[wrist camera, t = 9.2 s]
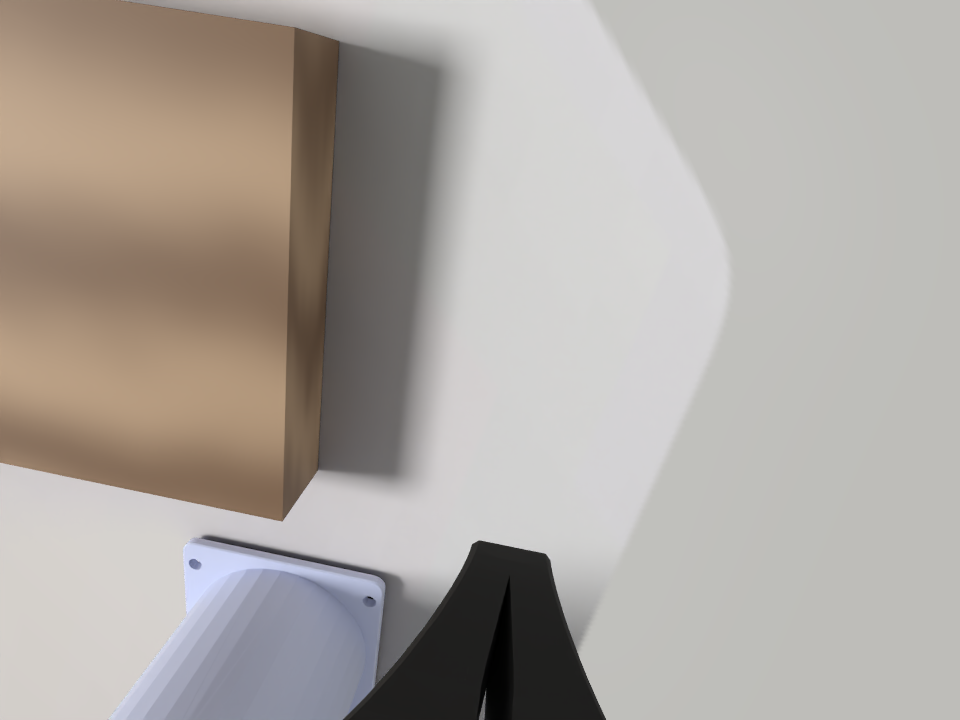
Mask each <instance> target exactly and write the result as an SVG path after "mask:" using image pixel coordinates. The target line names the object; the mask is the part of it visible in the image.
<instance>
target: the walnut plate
mask: <svg viewBox="0 0 960 720" xmlns="http://www.w3.org/2000/svg"><path fill="white" fill-rule="evenodd" d="M338 53H339V41H337V40H333V39H330V38H327V37H324V36H320V35H317V34H314V33H311V32H308V31H304V30H301V29H298V28H295V27H288V26H282V25H275V24H269V23H262V22H256V21H249V20H243V19H236V18H230V17H223V16H217V15H210V14H204V13H197V12H191V11H185V10H178V9H172V8H165V7H159V6H152V5H146V4H139V3H133V2H126V1H120V0H0V463H5V464H10V465H14V466H19V467H24V468H29V469H34V470H38V471H43V472H48V473H53V474H58V475H62V476H67V477H72V478H77V479H81V480H86V481H91V482H96V483H101V484H105V485H110V486H115V487H120V488H125V489H129V490H134V491H139V492H144V493H149V494H153V495H158V496H163V497H168V498H173V499H177V500H182V501H187V502H192V503H197V504H201V505H206V506H211V507H216V508H221V509H225V510H230V511H235V512H240V513H245V514H249V515H254V516H259V517H264V518H269V519H273V520H278V521H283V520H284V518H285V517H286V515H287V514H288V513H289V511H290V510H291V508H292V507H293V505H294V504H295V502H296V501H297V500H298V498H299V497H300V495H301V494H302V492H303V491H304V490H305V488H306V487H307V485H308V484H309V482H310V481H311V479H312V478H313V477H314V475H315V474H316V472H317V471H318V452H319V432H320V413H321V393H322V373H323V353H324V333H325V313H326V293H327V273H328V253H329V233H330V213H331V193H332V173H333V153H334V133H335V113H336V93H337V73H338Z"/></svg>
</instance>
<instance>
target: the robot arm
mask: <svg viewBox="0 0 960 720" xmlns="http://www.w3.org/2000/svg"><path fill="white" fill-rule="evenodd" d="M183 558H184V576H185V595H186V613H187V615H186V617H185V618H184V619H183V621H182V622H181V623H180V625H179V626H178V627H177V629H176V630H175V631H174V633H173V634H172V635H171V637H170V638H169V639H168V641H167V642H166V643H165V645H164V646H163V647H162V649H161V650H160V651H159V653H158V654H157V655H156V656H155V658H154V659H153V660H152V662H151V663H150V664H149V666H148V667H147V668H146V670H145V671H144V672H143V674H142V675H141V676H140V678H139V679H138V680H137V682H136V683H135V684H134V686H133V687H132V688H131V690H130V691H129V692H128V694H127V695H126V696H125V698H124V699H123V700H122V701H121V703H120V704H119V705H118V707H117V708H116V709H115V711H114V712H113V713H112V715H111V716H110V717H109V719H108V720H479V716H480V712H481V708H482V704H483V699H484V695H485V691H486V704H485V720H606V718H605V716H604V714H603V712H602V710H601V708H600V705H599V703H598V701H597V699H596V697H595V694H594V692H593V690H592V687H591V685H590V683H589V681H588V678H587V676H586V673H585V671H584V668H583V666H582V663H581V661H580V658H579V656H578V653H577V650H576V648H575V645H574V642H573V640H572V637H571V634H570V631H569V629H568V626H567V623H566V620H565V617H564V614H563V610H562V607H561V604H560V600H559V597H558V594H557V590H556V586H555V582H554V578H553V573H552V568H551V562H550V559H549V558H548V557H547V555H546V554H544V553H539V552H534V551H529V550H524V549H519V548H514V547H509V546H504V545H499V544H495V543H490V542H485V541H480V540H479V541H477V542H475V543H474V544H472V547H471V550H470V552H469V555H468V557H467V559H466V561H465V564H464V566H463V568H462V569H461V571H460V573H459V575H458V577H457V578H456V580H455V582H454V583H453V585H452V587H451V588H450V590H449V592H448V593H447V595H446V596H445V598H444V599H443V601H442V602H441V604H440V605H439V607H438V608H437V610H436V611H435V613H434V614H433V616H432V617H431V618H430V620H429V621H428V623H427V624H426V625H425V627H424V628H423V629H422V631H421V632H420V633H419V634H418V636H417V637H416V638H415V640H414V641H413V642H412V643H411V645H410V646H409V647H408V648H407V650H406V651H405V652H404V654H403V655H402V656H401V657H400V659H399V660H398V661H397V662H396V663H395V664H394V666H393V667H392V668H391V669H390V670H389V671H388V673H387V674H386V675H385V676H384V677H383V678H382V679H381V681H380V682H379V683H378V684H377V685H376V686H375V679H376V670H377V661H378V652H379V643H380V634H381V625H382V616H383V607H384V598H385V589H386V587H385V583H384V581H383V580H382V579H381V578H379V577H377V576H375V575H371V574H366V573H361V572H356V571H352V570H347V569H342V568H338V567H333V566H328V565H323V564H319V563H314V562H309V561H305V560H300V559H295V558H291V557H286V556H281V555H276V554H272V553H267V552H262V551H258V550H253V549H248V548H243V547H239V546H234V545H229V544H225V543H220V542H215V541H210V540H206V539H201V538H193V539H191V540H190V541H189V542H188V543H187V544H186V545H185V546H184V549H183ZM197 560H198V561H199V562H198V561H197ZM367 596H370V597H372V598H374V599H375V600H372V599H369V598H368V597H367Z"/></svg>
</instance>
